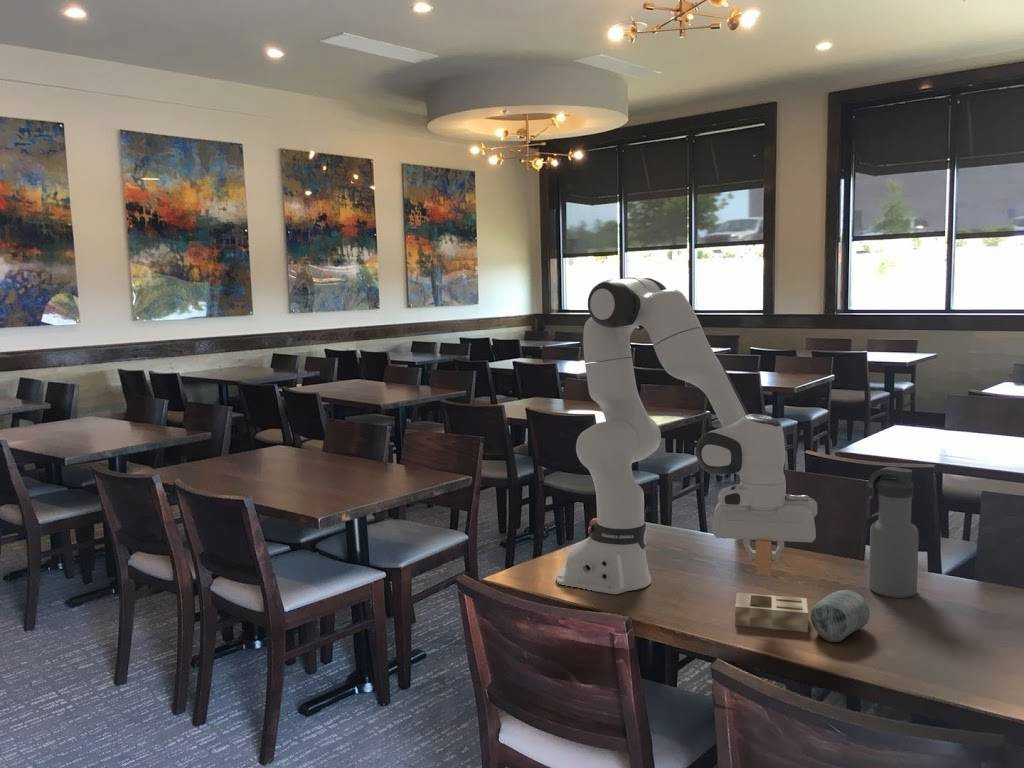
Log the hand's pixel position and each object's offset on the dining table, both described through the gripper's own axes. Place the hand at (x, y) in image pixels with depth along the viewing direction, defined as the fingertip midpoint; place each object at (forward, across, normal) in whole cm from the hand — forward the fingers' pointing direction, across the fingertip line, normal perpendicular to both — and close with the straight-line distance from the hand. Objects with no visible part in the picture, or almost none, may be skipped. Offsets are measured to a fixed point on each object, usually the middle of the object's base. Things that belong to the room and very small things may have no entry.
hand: (763, 560), depth 166 cm
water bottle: (+13, -27, -24) cm, 39 cm away
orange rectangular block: (+2, 0, 0) cm, 2 cm away
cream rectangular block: (+13, -1, 0) cm, 13 cm away
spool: (+14, -14, +3) cm, 20 cm away
